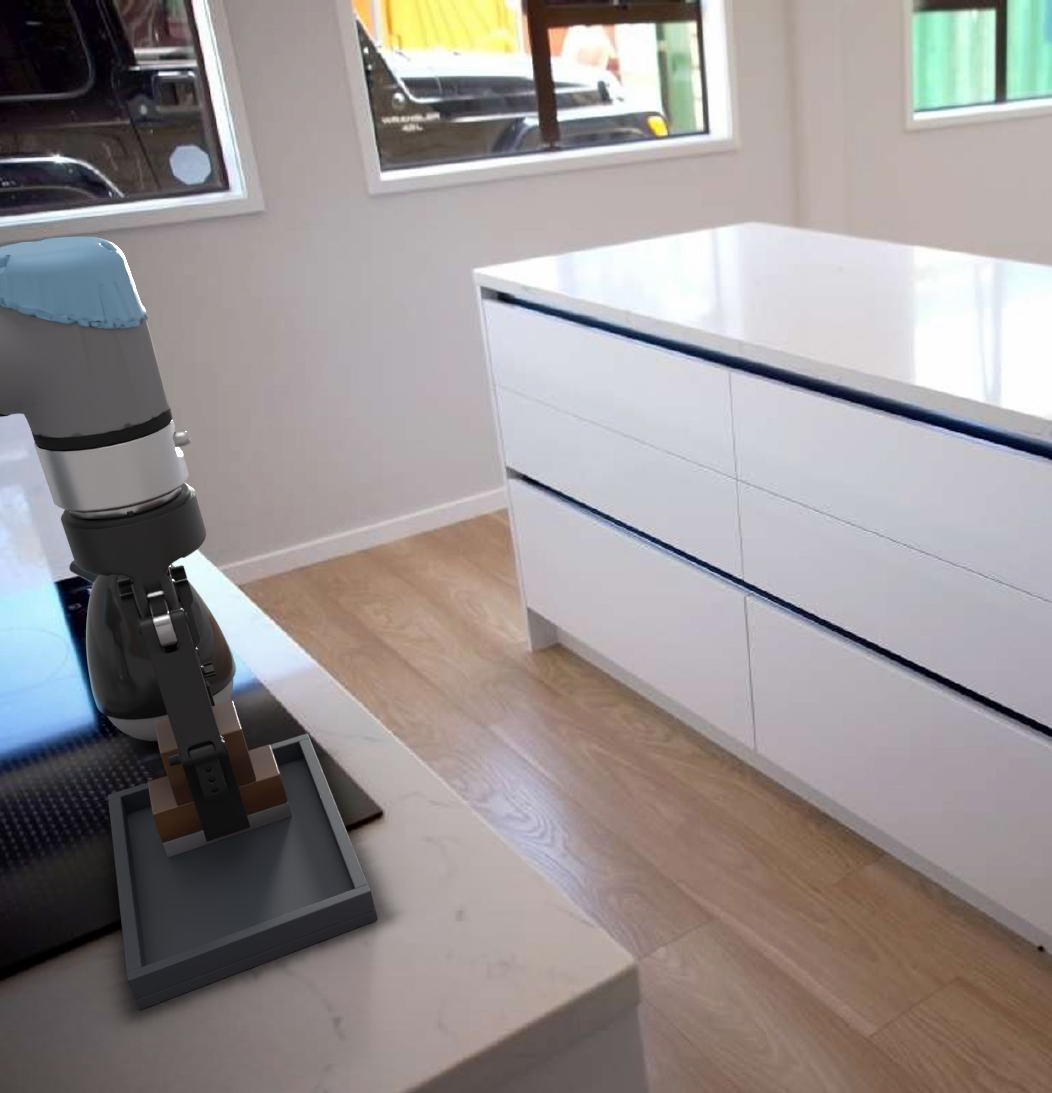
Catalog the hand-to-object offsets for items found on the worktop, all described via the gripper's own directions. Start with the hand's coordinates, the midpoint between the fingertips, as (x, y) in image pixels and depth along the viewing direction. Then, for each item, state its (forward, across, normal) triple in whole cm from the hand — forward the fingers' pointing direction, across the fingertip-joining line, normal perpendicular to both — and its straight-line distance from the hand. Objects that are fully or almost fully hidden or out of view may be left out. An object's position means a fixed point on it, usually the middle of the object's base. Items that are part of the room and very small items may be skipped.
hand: (219, 797), depth 86 cm
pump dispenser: (+3, +18, +2) cm, 18 cm away
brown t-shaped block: (+2, 0, 0) cm, 2 cm away
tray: (+3, -5, 0) cm, 6 cm away
